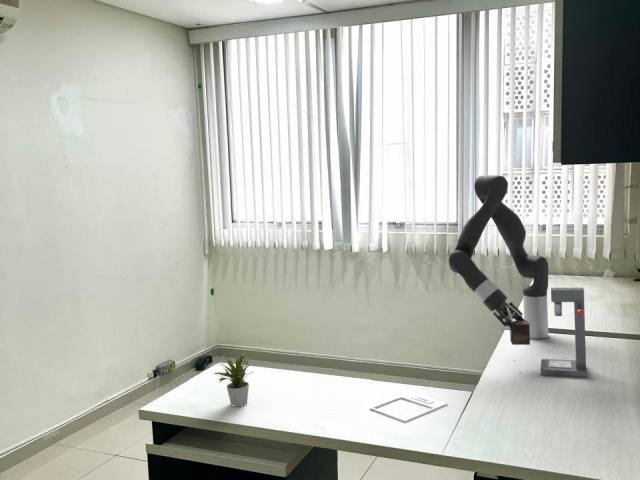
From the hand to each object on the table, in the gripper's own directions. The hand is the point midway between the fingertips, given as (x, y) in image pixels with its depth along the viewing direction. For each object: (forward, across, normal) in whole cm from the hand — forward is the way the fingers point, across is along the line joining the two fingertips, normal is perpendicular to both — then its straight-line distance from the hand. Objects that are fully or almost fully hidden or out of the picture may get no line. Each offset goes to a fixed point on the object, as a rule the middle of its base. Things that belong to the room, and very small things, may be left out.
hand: (523, 329), depth 209 cm
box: (+3, 0, +4) cm, 5 cm away
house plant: (-38, -72, +59) cm, 100 cm away
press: (+19, -2, 0) cm, 19 cm away
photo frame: (-2, -51, +23) cm, 56 cm away
